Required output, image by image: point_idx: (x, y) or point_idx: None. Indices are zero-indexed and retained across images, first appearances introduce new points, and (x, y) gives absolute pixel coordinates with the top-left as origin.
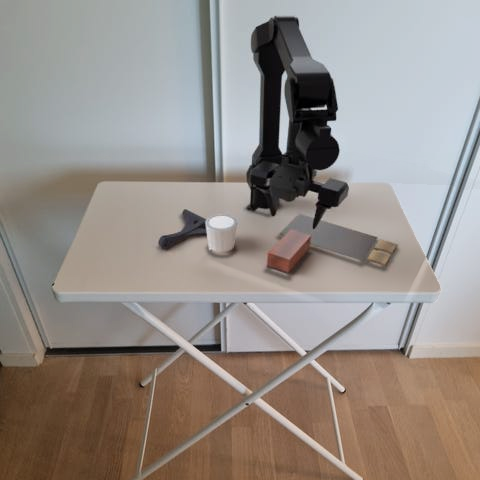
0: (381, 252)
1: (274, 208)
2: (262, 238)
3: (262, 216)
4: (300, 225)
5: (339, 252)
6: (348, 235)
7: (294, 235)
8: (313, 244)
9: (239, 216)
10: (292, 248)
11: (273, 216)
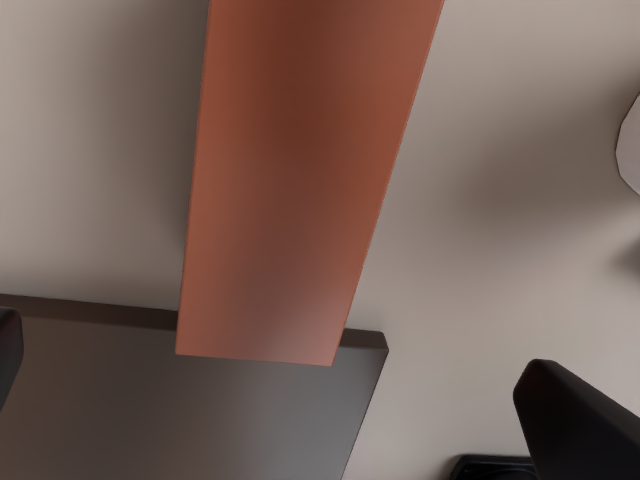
0: None
1: (585, 448)
2: (466, 301)
3: (487, 441)
4: (302, 442)
5: None
6: (42, 459)
7: (287, 311)
8: None
9: None
10: (250, 147)
11: (534, 359)
